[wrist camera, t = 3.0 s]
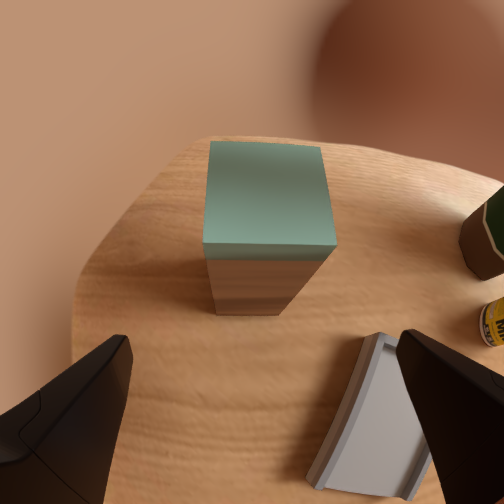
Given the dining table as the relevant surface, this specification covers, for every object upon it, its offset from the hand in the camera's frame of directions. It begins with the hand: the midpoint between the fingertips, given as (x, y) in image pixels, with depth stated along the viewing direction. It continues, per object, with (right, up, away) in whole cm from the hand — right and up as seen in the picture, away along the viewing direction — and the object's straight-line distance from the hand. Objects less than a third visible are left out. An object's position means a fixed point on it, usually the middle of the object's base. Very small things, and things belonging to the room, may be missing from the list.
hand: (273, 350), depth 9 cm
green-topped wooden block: (-1, 0, +13) cm, 13 cm away
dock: (+10, -10, +10) cm, 17 cm away
